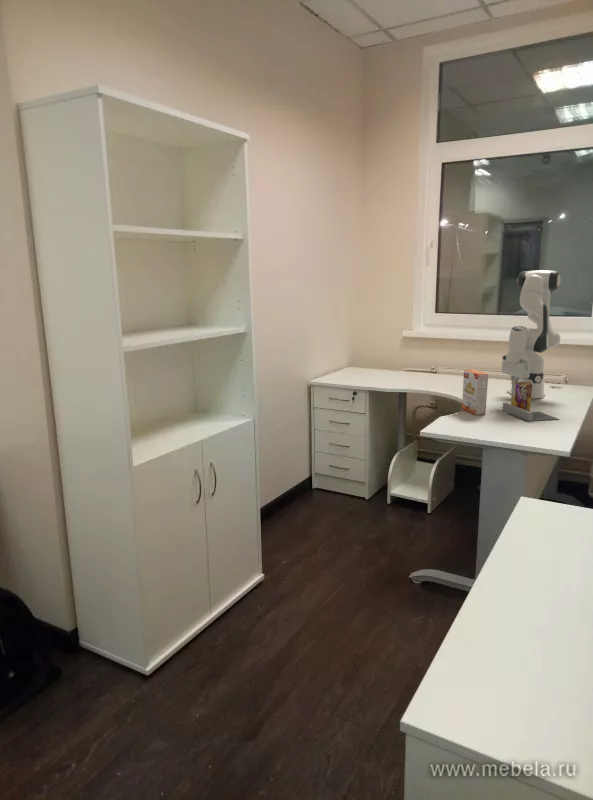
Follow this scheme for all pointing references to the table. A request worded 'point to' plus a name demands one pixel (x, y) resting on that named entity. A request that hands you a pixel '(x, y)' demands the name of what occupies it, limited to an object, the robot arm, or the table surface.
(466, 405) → the cracker box
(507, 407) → the mat with rail
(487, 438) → the table surface
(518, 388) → the candy box
